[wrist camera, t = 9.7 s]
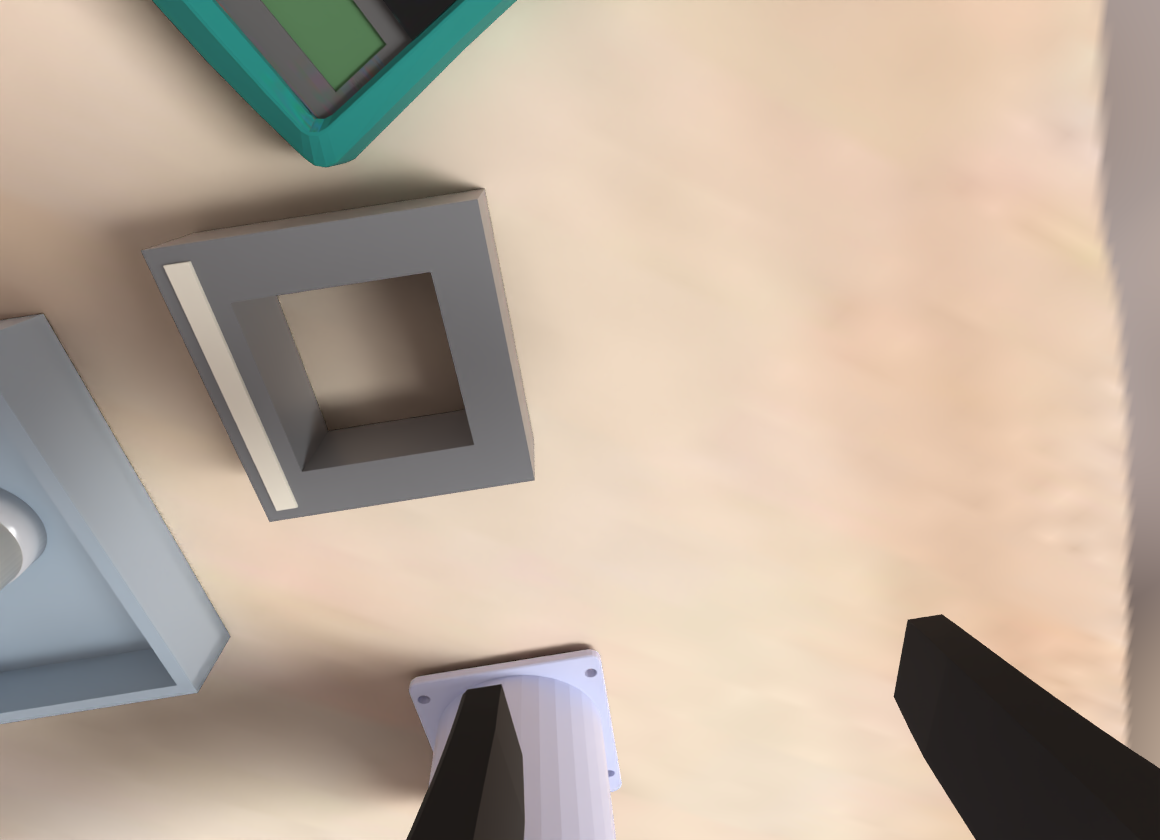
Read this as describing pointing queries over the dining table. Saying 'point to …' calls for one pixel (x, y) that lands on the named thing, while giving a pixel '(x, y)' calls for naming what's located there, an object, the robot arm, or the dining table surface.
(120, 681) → the parts tray
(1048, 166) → the dining table surface
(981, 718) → the robot arm
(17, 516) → the cylinder
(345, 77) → the digital multimeter
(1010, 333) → the dining table surface
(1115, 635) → the dining table surface
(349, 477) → the fuse block
